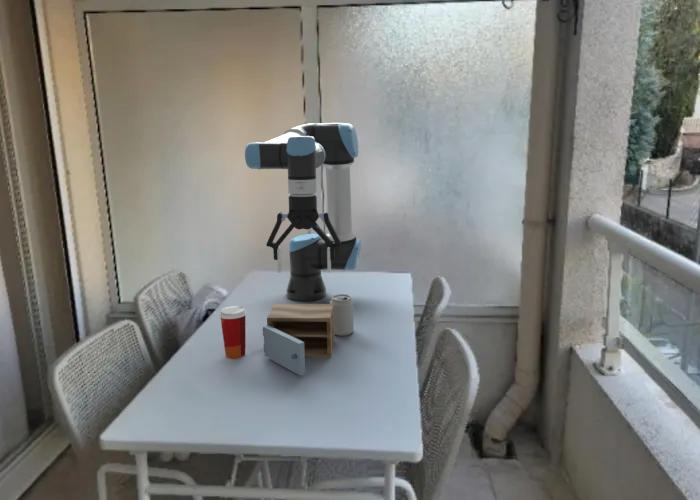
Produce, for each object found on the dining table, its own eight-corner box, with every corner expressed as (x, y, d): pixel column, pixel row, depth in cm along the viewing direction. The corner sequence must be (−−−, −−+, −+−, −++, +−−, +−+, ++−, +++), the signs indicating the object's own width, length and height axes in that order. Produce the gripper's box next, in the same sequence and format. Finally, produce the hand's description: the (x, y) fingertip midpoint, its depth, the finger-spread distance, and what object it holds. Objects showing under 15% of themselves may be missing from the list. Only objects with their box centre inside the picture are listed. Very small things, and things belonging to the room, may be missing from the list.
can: (351, 337, 177) (350, 301, 174) (327, 336, 178) (327, 299, 176) (355, 328, 184) (355, 293, 181) (333, 327, 186) (332, 292, 183)
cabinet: (276, 340, 175) (274, 303, 173) (334, 340, 175) (333, 303, 172) (268, 356, 164) (266, 317, 161) (331, 357, 163) (330, 318, 160)
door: (267, 353, 164) (265, 323, 162) (305, 373, 151) (304, 342, 149) (259, 355, 162) (257, 326, 160) (297, 376, 149) (296, 344, 147)
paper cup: (239, 347, 171) (236, 303, 167) (254, 355, 165) (251, 309, 162) (216, 355, 165) (213, 310, 162) (231, 363, 160) (228, 316, 157)
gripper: (253, 196, 149) (257, 274, 154) (348, 196, 148) (349, 274, 153) (258, 193, 156) (262, 267, 161) (349, 192, 156) (350, 267, 160)
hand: (304, 271), depth 157 cm, fingers open, 13 cm apart
